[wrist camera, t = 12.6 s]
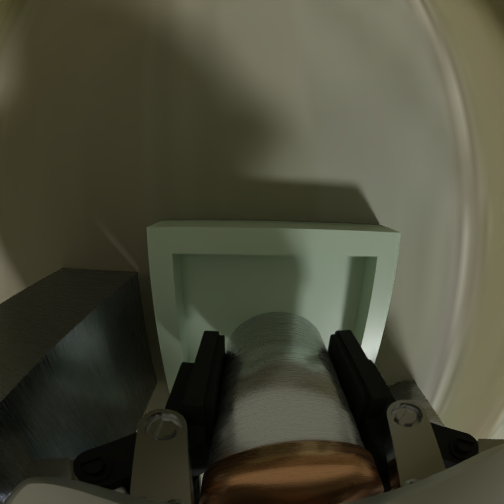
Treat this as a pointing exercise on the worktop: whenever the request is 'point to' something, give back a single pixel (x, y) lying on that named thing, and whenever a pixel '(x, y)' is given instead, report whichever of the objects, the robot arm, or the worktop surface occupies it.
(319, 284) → the tray
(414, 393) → the clear glass jar
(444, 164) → the worktop surface
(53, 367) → the block
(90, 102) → the worktop surface
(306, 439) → the copper lidded jar
